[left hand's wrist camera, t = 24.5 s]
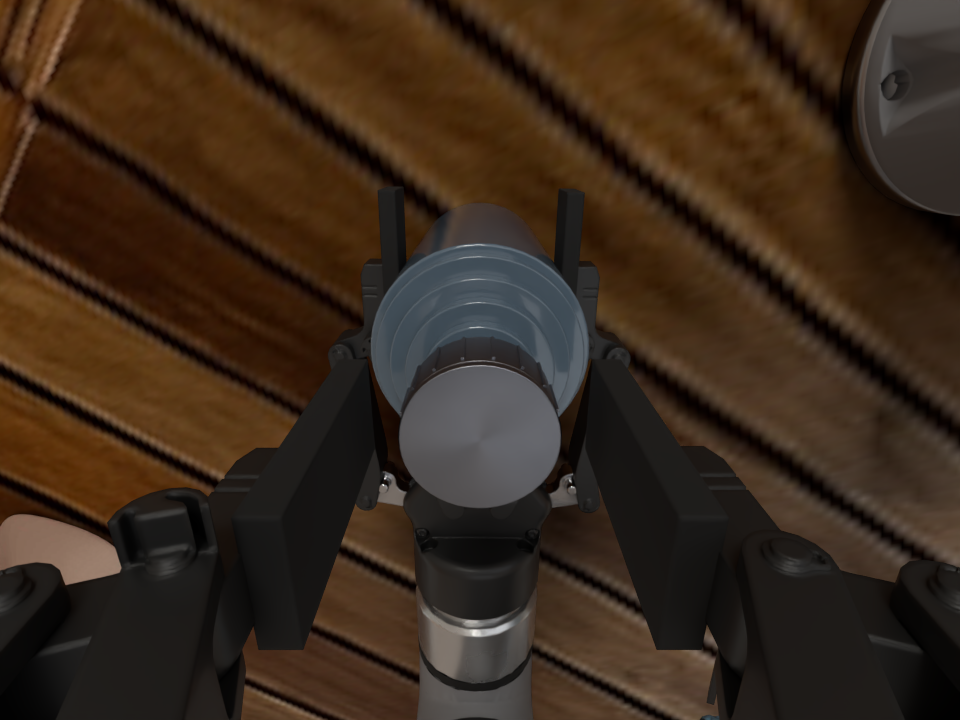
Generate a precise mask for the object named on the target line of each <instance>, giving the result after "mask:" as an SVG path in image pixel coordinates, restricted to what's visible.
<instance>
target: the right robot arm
mask: <svg viewBox="0 0 960 720" xmlns="http://www.w3.org/2000/svg"><path fill="white" fill-rule="evenodd" d="M584 194H585V193H584V192H581V191H579V190H576V189H559V194H558V210H557V226H556V241H555V257H554V264H555V266H556V267H557V269H558V270H559V272H560V273H561V275H562V276H563V278H564V279H565V280H566V282H567V283H568V285H569V286H570V288H571V290H572V291H573V293H574V294H575V296H576V298H577V299H578V301H579V303H580V306H581V308H582V310H583V312H584V316H585V319H586V323H587V327H588V334H589V357H588V361H589V359H621V360H622V362H623V363H624V365H625V366H626V368H627V369H628V366H629V363H630V354H629V352H628V351H627V349H626V348H625V347H624V345H623V344H622V343H621V341H620V340H619V339H618V337H617V336H616V335H615V334H613V333H610V332H606V333H605V332H602V331H600V330H597V329H595V320H596V310H597V300H598V299H597V297H598V289H599V279H600V277H599V274H598V271H597V267H596V266H595V265H594V264H593V263H592V262H591V261H579V256H580V244H581V232H582V219H583V207H584ZM378 204H379V221H380V239H381V256H382V259H369V260H368V261H367V262H366V263H365V264H364V267H363V270H362V273H361V284H362V298H363V312H364V326H362V327H360V328H357V329H354V330H352V329H348V330H345V331H344V332H343V333H342V334H341V335H340V336H339V338H338V339H337V340H336V342H335V343H334V344H333V346H332V347H331V348H330V350H329V352H328V358H329V362H330V366H331V369H333V368H334V366H335V365H336V363H337V362H338V360H339V359H367V356H369V358H370V360H371V362H372V358H371V334H372V326H373V323H374V319H375V315H376V312H377V310H378V308H379V305H380V303H381V301H382V299H383V298H384V296H385V294H386V293H387V291H388V289H389V288H390V286H391V285H392V283H393V282H394V280H395V279H396V277H397V276H398V274H399V273H400V271H401V270H402V268H403V267H404V266H405V264H406V241H405V216H404V191H403V187H386V188H383V189H380V190H378ZM368 371H369V383H370V394H371V406H372V418H373V430H374V442H375V450H374V452H373V455H372V458H371V461H370V464H369V466H368V469H367V472H366V475H365V478H364V480H363V483H362V486H361V489H360V492H359V494H358V497H357V500H356V505H357V507H359V508H360V509H362V510H371V509H373V508H374V507H375V506H376V504H377V502H382V503H388V504H394V505H400V506H403V507H404V511H405V513H406V514H407V515H408V517H409V518H410V520H411V522H412V524H413V530H414V554H415V576H416V582H417V586H416V601H417V617H418V639H419V648H420V693H419V705H418V714H417V720H533V711H532V698H531V669H532V648H533V638H534V632H535V616H536V601H537V580H538V569H539V553H540V538H541V528H542V524H543V522H544V520H545V519H546V518H547V516H548V515H549V513H550V512H551V509H552V508H555V507H561V506H568V505H574V504H578V506H579V509H580V510H581V511H582V512H585V513H592V512H594V511H596V510H597V509H598V508H599V506H600V499H599V491H598V483H597V480H596V478H595V475H594V472H593V469H592V466H591V464H590V461H589V458H588V455H587V452H586V450H585V442H586V430H587V418H588V406H589V394H590V382H591V371H592V360H591V364H590V368H589V372H588V376H587V380H586V383H585V387H584V391H583V395H582V399H581V403H580V407H579V411H578V414H577V418H576V422H575V426H574V430H573V434H572V438H571V442H570V446H569V454H568V460H569V464H568V463H565V464H563V465H562V466H561V469H560V470H559V471H558V474H557V478H556V480H555V481H554V482H553V483H551V484H548V485H547V484H546V482H545V481H543V482H542V484H541V485H540V486H538V487H537V488H536V489H535V490H534V491H532V492H531V493H529V494H528V495H526V496H525V497H523V498H521V499H519V500H517V501H514V502H512V503H509V504H506V505H502V506H498V507H491V508H468V507H463V506H457V505H454V504H451V503H448V502H446V501H443V500H441V499H439V498H437V497H435V496H434V495H432V494H430V493H429V492H428V491H426V490H425V489H424V488H422V487H421V486H420V485H419V484H418V483H417V482H416V481H415V479H414V478H412V479H411V480H410V482H409V483H406V482H404V481H402V480H401V479H400V477H399V474H398V470H397V468H396V467H395V464H394V463H393V462H391V461H388V462H387V457H388V448H387V442H386V438H385V433H384V429H383V425H382V421H381V416H380V412H379V408H378V403H377V399H376V395H375V391H374V386H373V382H372V378H371V374H370V369H369V365H368ZM398 415H399V414H398ZM399 417H400V419H401V416H400V415H399ZM700 720H719V716H716V717H714V716H711V715H706V716H703V717H702V718H701V719H700Z"/></svg>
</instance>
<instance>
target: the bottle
mask: <svg viewBox="0 0 960 720" xmlns="http://www.w3.org/2000/svg"><path fill="white" fill-rule="evenodd" d="M491 336H493V337H494V338H496V339H500V340H504V341H506V342H509V343H512V344H514V345H516V346H517V345H519V346H520V347H521V349H522V350H524V351H525V352H527V353H528V354H529V355H530V356H531V357H532V358H533V359H534V360H535V361H536V362H537V363H538V362H540V364H541V367H542V370H543V372H544V373H545V376H546V378H547V380H548V383H549V385H550V384H551V385H552V388H553V391H554V395H555V398H556V401H557V404H558V407H559V411H560V412H557V413H558V417H559V416H560V415H561V414H562V413H563V412H564V411H565V409H566V408H567V407H568V406H569V404H570V403H571V402H572V400H573V399H574V397H575V395H576V394H577V392H578V390H579V388H580V386H581V383H582V381H583V379H584V375H585V372H586V368H587V364H588V357H589V334H588V327H587V323H586V319H585V316H584V312H583V310H582V308H581V306H580V303H579V301H578V299H577V298H576V296H575V294H574V293H573V291H572V290H571V288H570V286H569V285H568V283H567V282H566V280H565V279H564V278H563V276H562V275H561V273H560V272H559V270H558V269H557V267H556V266H555V264H554V263H553V261H552V260H551V258H550V257H549V255H548V254H547V252H546V251H545V249H544V248H543V246H542V245H541V243H540V242H539V240H538V239H537V237H536V236H535V234H534V233H533V231H532V230H531V228H530V227H529V226H528V225H527V224H526V222H525V221H523V220H522V219H521V218H520V217H519V216H518V215H516V214H515V213H513V212H512V211H510V210H508V209H506V208H504V207H501V206H498V205H494V204H489V203H471V204H466V205H462V206H459V207H457V208H454V209H452V210H450V211H448V212H447V213H445V214H444V215H442V216H441V217H440V218H439V219H438V220H437V221H436V222H434V224H433V225H432V226H431V227H430V228H429V230H428V231H427V233H426V234H425V236H424V237H423V239H422V240H421V242H420V243H419V245H418V246H417V248H416V249H415V251H414V252H413V254H412V255H411V257H410V258H409V260H408V261H407V263H406V264H405V266H404V267H403V268H402V270H401V271H400V273H399V274H398V276H397V277H396V279H395V280H394V282H393V283H392V285H391V286H390V288H389V289H388V291H387V293H386V294H385V296H384V298H383V299H382V301H381V303H380V305H379V308H378V310H377V312H376V315H375V319H374V323H373V326H372V334H371V358H372V364H373V369H374V372H375V375H376V379H377V381H378V383H379V386H380V388H381V390H382V392H383V394H384V395H385V397H386V399H387V400H388V402H389V403H390V405H391V406H392V407H393V408H394V409H395V411H396V412H397V413H398V414H399V415H400V411H401V408H402V404H403V401H404V398H405V395H406V391H407V388H408V387H409V388H410V386H411V383H412V380H413V377H414V375H415V373H416V369H417V366H418V365H421V364H422V363H423V362H424V361H425V360H426V359H427V358H428V357H429V356H430V355H431V354H432V353H433V352H435V351H436V348H437V347H440V348H441V347H442V346H444V345H446V344H448V343H451V342H453V341H456V340H460V339H462V337H466V338H470V337H490V338H491Z"/></svg>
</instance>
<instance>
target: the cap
mask: <svg viewBox="0 0 960 720" xmlns="http://www.w3.org/2000/svg"><path fill="white" fill-rule="evenodd" d="M557 412H560V411H559V407H558V404H557V401H556V398H555V395H554V391H553V388H552V385H551V384H550V385H549V383H548V380H547V378H546V376H545V373H544V372H543V370H542V367H541V364H540V362H538V363H537V362H536V361H535V360H534V359H533V358H532V357H531V356H530V355H529V354H528V353H527V352H525V351H524V350H522V349H521V347H520V346H519V345H517V346H516V345H514V344H512V343H509V342H506V341H504V340H500V339H496V338H494V337H493V336H491V338H490V337H470V338H466V337H462V339H460V340H456V341H453V342H451V343H448V344H446V345H444V346H442V347H441V348H440V347H437V348H436V351H435V352H433V353H432V354H431V355H430V356H429V357H428V358H427V359H426V360H425V361H424V362H423V363H422V364H421V365H418V366H417V369H416V373H415V375H414V377H413V380H412V383H411V386H410V388H409V387H408V388H407V391H406V395H405V398H404V401H403V404H402V408H401V411H400V416H401V419H400V424H399V431H398V441H399V449H400V453H401V456H402V459H403V461H404V464H405V466H406V468H407V469H408V471H409V473H410V474H411V475H412V477H413V478H414V479H415V481H416V482H417V483H418V484H419V485H420V486H421V487H422V488H424V489H425V490H426V491H428V492H429V493H430V494H432V495H434V496H435V497H437V498H439V499H441V500H443V501H446V502H448V503H451V504H454V505H457V506H463V507H468V508H491V507H498V506H502V505H506V504H509V503H512V502H514V501H517V500H519V499H521V498H523V497H525V496H526V495H528V494H529V493H531V492H532V491H534V490H535V489H536V488H537V487H538V486H540V485H541V484H542V482H543V481H544V480H545V479H546V478H547V477H548V475H549V474H550V472H551V471H552V469H553V467H554V466H555V464H556V462H557V459H558V456H559V453H560V448H561V441H562V432H561V424H560V420H559V417H558V413H557Z"/></svg>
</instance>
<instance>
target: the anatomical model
mask: <svg viewBox="0 0 960 720" xmlns="http://www.w3.org/2000/svg"><path fill="white" fill-rule="evenodd" d="M34 562H40V563H49V564H53V565H54V566H55V567H57V568H58V569H59V570H60V572H61V574H62V577H63V580H64V582H65V585H68V584H73V583H77V582H82V581H86V580H91V579H95V578H100V577H104V576H109V575H113V574H116V573H120V570H121V565H120V562H119V559H118V556H117V552H116V549H115V547H114V546H113V545H111V544H110V543H109V542H107V541H106V540H104V539H102V538H101V537H99V536H97V535H95V534H92V533H90V532H88V531H86V530H83V529H81V528H78V527H76V526H73V525H69V524H66V523H63V522H60V521H56V520H52V519H49V518H45V517H39V516H34V515H27V514H18V515H13V516H10V517H9V518H7V519H6V520H5V521H4V522H3V523H2V525H1V527H0V570H4V569H6V568H9V567H13V566H16V565H22V564H28V563H34Z"/></svg>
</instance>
